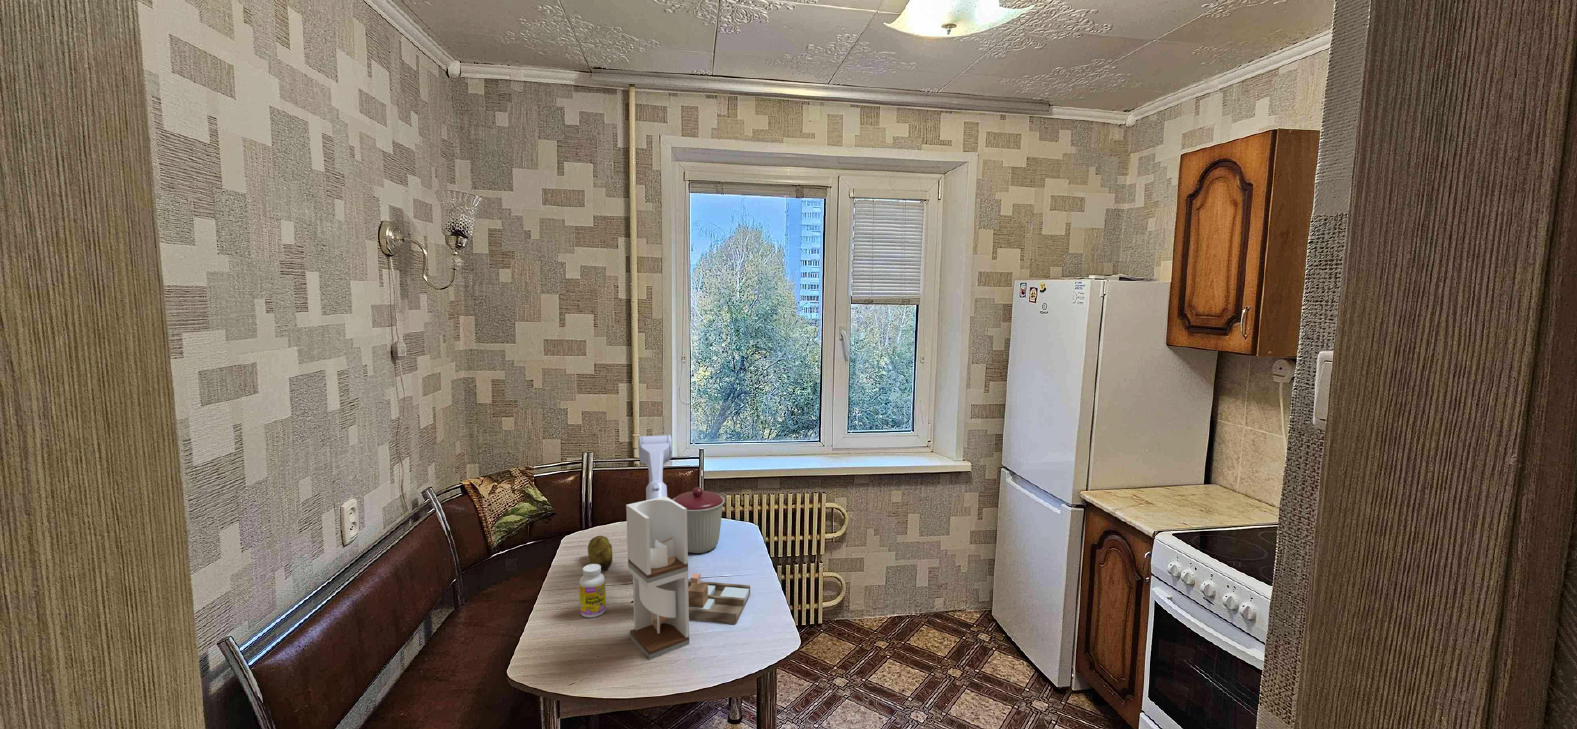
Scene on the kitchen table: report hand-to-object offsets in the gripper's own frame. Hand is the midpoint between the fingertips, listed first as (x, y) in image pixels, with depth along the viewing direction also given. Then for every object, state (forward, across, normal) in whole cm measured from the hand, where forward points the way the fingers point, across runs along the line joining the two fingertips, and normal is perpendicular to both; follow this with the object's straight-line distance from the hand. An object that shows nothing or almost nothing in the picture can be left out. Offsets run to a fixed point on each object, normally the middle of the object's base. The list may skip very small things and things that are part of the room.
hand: (659, 596), depth 170 cm
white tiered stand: (+4, +6, -15) cm, 17 cm away
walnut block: (+1, +11, 0) cm, 11 cm away
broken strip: (+3, +15, +8) cm, 17 cm away
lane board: (+3, +12, +4) cm, 13 cm away
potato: (+4, -29, +23) cm, 37 cm away
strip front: (+2, +7, 0) cm, 7 cm away
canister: (+4, -2, +41) cm, 41 cm away
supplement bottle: (+4, -17, -5) cm, 18 cm away
